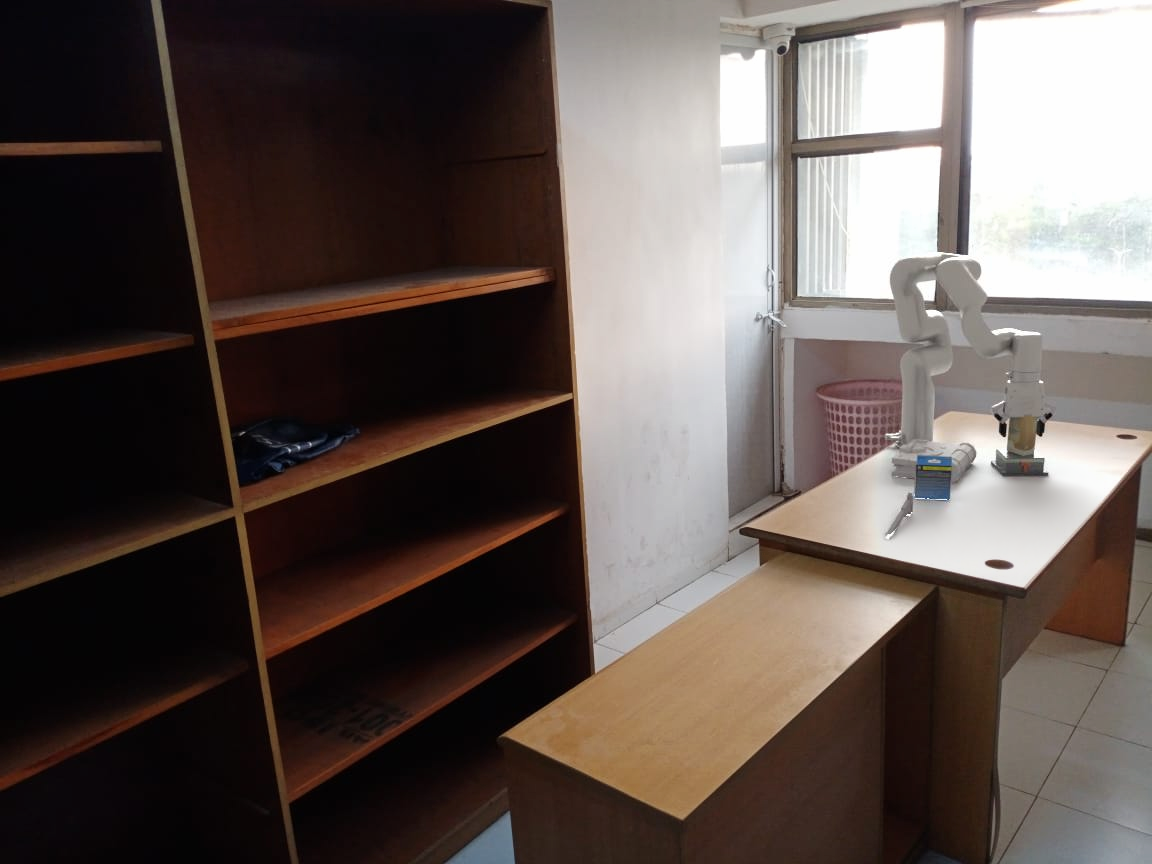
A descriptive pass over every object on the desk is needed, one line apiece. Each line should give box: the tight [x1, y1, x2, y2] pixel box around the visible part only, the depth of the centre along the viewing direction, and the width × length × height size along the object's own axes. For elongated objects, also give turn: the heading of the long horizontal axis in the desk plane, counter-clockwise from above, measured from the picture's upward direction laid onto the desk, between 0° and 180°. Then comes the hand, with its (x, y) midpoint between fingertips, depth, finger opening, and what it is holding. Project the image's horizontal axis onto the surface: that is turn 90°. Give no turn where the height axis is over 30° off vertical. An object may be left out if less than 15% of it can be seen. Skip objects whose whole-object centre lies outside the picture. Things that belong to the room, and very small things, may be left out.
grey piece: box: [990, 447, 1049, 477], centre depth 265 cm, size 12×12×5 cm
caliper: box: [886, 492, 914, 534], centre depth 227 cm, size 20×1×6 cm, turn 146°
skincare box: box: [1006, 414, 1039, 456], centre depth 263 cm, size 6×4×12 cm
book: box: [890, 439, 977, 484], centre depth 271 cm, size 19×28×8 cm
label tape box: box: [913, 455, 952, 500], centre depth 244 cm, size 9×4×12 cm, turn 72°
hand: (1021, 435), depth 263 cm, fingers open, 9 cm apart
